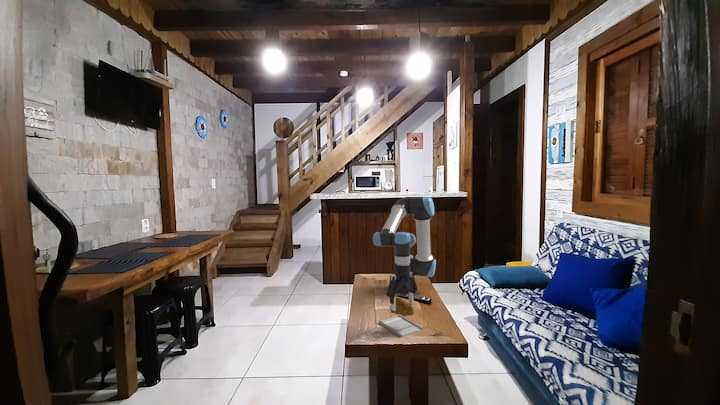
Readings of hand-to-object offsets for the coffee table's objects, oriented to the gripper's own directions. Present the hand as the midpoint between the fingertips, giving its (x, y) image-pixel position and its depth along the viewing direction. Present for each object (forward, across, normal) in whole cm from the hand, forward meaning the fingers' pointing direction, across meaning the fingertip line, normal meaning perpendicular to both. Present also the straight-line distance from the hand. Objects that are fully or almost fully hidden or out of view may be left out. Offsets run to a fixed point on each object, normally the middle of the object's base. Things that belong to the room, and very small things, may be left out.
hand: (402, 307), depth 153 cm
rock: (+3, 0, 0) cm, 3 cm away
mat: (+10, 0, -2) cm, 11 cm away
